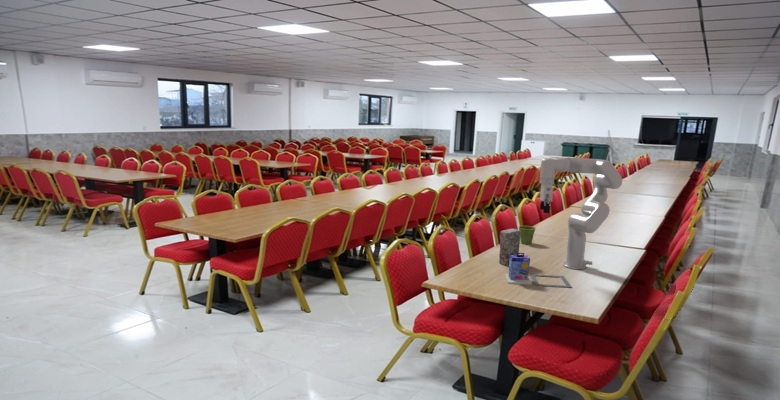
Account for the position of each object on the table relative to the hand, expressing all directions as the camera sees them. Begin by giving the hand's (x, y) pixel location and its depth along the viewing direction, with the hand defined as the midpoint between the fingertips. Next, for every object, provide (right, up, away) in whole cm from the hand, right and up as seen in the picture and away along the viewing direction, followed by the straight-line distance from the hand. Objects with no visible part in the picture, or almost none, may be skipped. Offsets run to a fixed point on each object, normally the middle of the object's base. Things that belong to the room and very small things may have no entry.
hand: (544, 211), depth 265 cm
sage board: (-18, -36, -11) cm, 42 cm away
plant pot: (+9, -24, +66) cm, 71 cm away
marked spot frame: (-1, -37, -12) cm, 39 cm away
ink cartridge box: (-18, -36, -11) cm, 41 cm away
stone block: (-15, -31, +19) cm, 40 cm away
